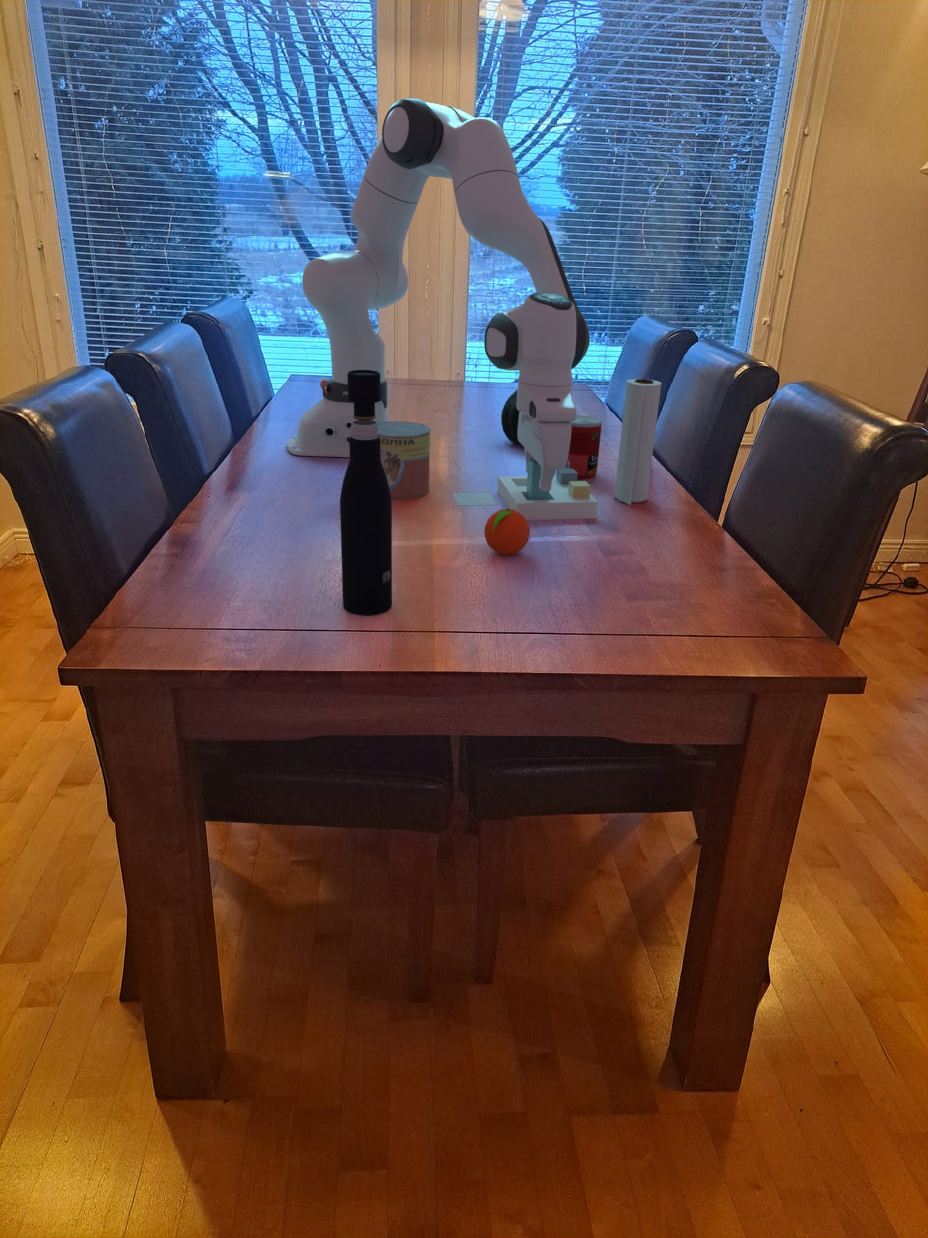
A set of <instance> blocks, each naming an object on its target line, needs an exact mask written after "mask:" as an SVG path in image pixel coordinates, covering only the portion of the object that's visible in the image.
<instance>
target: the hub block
mask: <svg viewBox="0 0 928 1238" xmlns="http://www.w3.org/2000/svg"><path fill="white" fill-rule="evenodd" d="M577 475H578V473H577V472H576V471H575V470H574V469H563V470H556V475H554V477H553V479H552V484H551V490H550V491H549V500H527V499H526V491H527V476H528V475H521V476H519V475H512V476H504V475H503V476H502V475H501V476H500V475H499V476H497V486H496V487H497V489H496V490H497V491H496V493H497V494H498V495H499V498H501V500H502V501H503V503H504V504H505V506H506V507H507V509H511V510H515V511H517V512H519V513H520V514H522V515H523V516H524V517H525V519H526V520H527V521H543V520H545V521H546V520H547V521H548V520H587V519H597V515H598V506H599V502H598V500H597V499H596V498H595V497H594V496H593V495H592V494H591V489H592V488H591V487H592V486H591V484H589V483H588V482H587V481H586V480H578V479H577Z"/></svg>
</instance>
